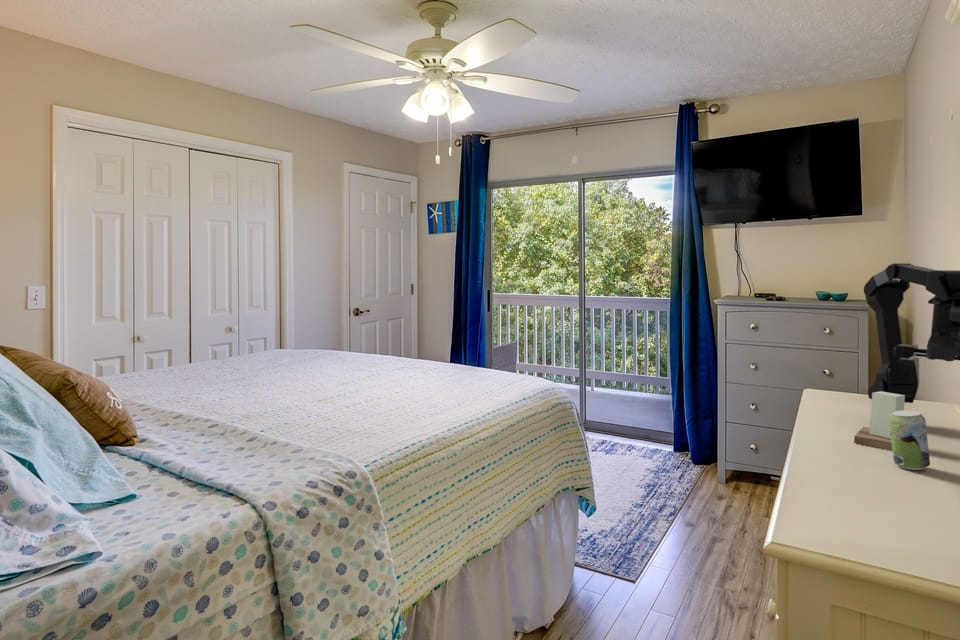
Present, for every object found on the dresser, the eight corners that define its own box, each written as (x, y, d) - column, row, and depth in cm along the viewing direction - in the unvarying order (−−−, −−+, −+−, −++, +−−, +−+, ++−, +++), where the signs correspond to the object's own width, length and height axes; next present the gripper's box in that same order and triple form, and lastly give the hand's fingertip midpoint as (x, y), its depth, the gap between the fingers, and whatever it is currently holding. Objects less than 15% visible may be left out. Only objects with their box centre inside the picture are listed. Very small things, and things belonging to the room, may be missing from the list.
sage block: (878, 431, 134) (881, 391, 133) (901, 437, 130) (905, 395, 129) (869, 433, 132) (872, 392, 131) (893, 439, 128) (896, 396, 127)
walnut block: (862, 436, 139) (863, 426, 138) (912, 445, 132) (913, 435, 131) (853, 445, 132) (854, 435, 131) (906, 456, 125) (907, 445, 124)
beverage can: (936, 474, 113) (941, 416, 111) (895, 471, 114) (899, 414, 113) (918, 463, 119) (923, 408, 117) (879, 460, 120) (884, 406, 119)
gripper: (890, 324, 128) (884, 390, 130) (1000, 331, 115) (992, 405, 116) (900, 320, 136) (895, 383, 137) (1004, 327, 122) (997, 396, 124)
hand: (941, 391), depth 128 cm, fingers open, 9 cm apart
